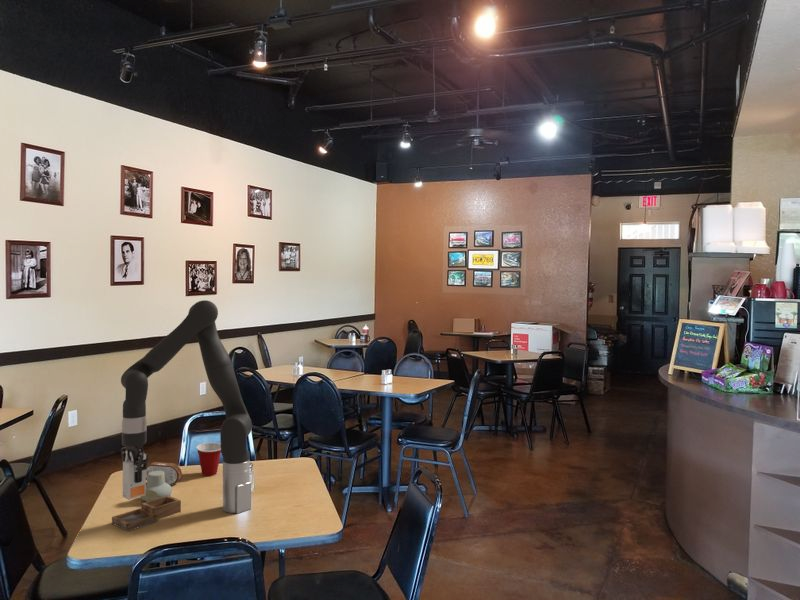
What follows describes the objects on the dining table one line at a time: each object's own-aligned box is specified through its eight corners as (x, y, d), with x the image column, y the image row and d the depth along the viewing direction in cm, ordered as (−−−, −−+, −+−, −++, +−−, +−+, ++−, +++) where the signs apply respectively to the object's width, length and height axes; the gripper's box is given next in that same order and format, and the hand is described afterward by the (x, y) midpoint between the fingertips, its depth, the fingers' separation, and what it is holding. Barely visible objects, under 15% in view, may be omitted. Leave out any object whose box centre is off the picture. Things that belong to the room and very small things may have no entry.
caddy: (183, 512, 208) (183, 501, 208) (127, 531, 192) (127, 519, 192) (167, 506, 214) (167, 495, 214) (111, 523, 198) (111, 511, 198)
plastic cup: (202, 480, 243) (202, 450, 243) (191, 473, 251) (191, 445, 251) (227, 474, 250) (227, 446, 250) (216, 468, 258) (216, 441, 258)
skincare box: (128, 500, 196) (128, 464, 195) (122, 497, 198) (122, 461, 198) (146, 495, 201) (146, 459, 200) (139, 492, 203) (139, 457, 203)
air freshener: (135, 502, 218) (135, 475, 218) (150, 494, 226) (150, 468, 226) (162, 505, 215) (162, 477, 215) (175, 497, 223) (175, 470, 223)
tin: (182, 484, 238) (182, 463, 238) (178, 486, 235) (178, 465, 235) (147, 481, 241) (147, 461, 240) (142, 484, 237) (142, 463, 237)
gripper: (156, 431, 197) (156, 482, 198) (134, 424, 206) (134, 473, 207) (134, 435, 191) (134, 488, 192) (112, 428, 200) (112, 479, 201)
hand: (134, 480), depth 199 cm, fingers closed on skincare box, 4 cm apart
